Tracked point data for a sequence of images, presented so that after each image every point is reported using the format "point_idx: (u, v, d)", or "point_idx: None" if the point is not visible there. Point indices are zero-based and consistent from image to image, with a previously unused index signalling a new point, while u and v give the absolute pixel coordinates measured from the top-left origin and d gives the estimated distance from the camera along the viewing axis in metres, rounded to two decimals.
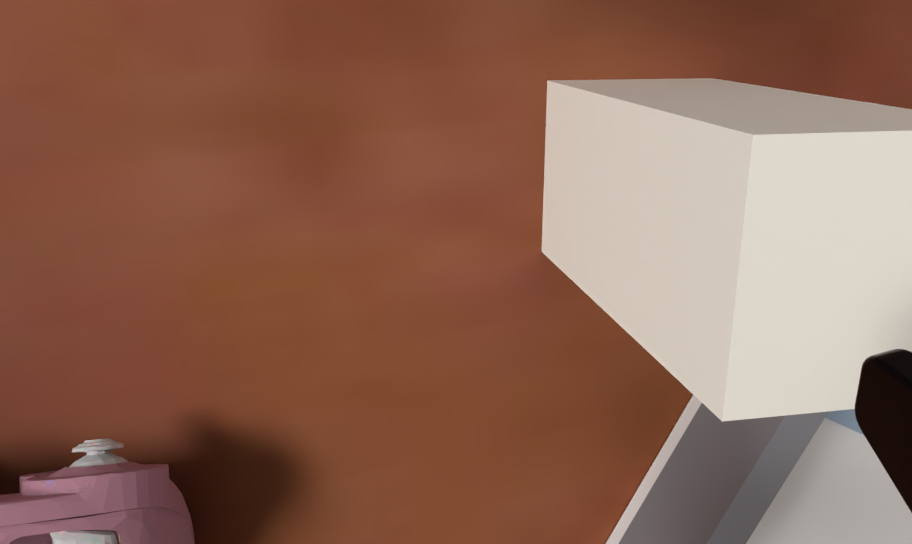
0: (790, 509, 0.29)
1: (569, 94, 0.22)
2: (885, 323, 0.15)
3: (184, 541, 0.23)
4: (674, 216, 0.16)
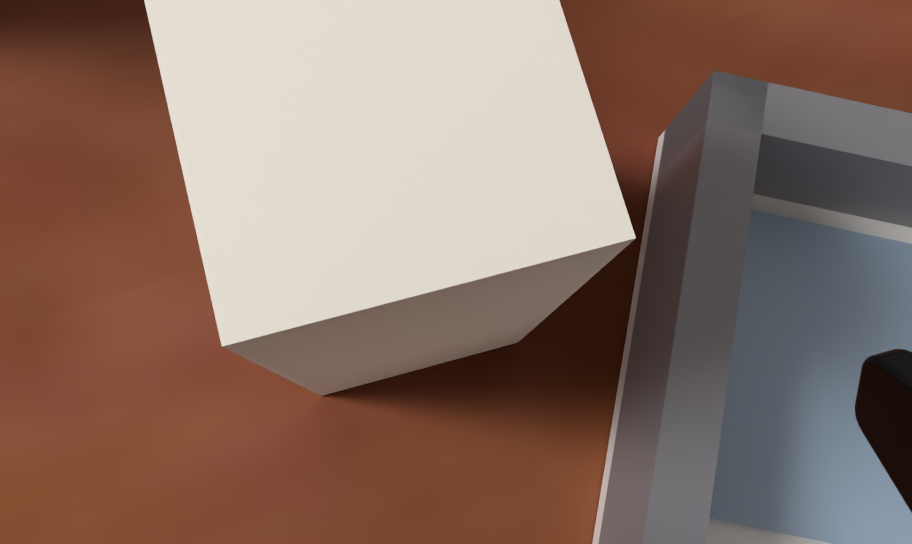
0: None
1: None
2: (432, 153, 0.10)
3: None
4: None
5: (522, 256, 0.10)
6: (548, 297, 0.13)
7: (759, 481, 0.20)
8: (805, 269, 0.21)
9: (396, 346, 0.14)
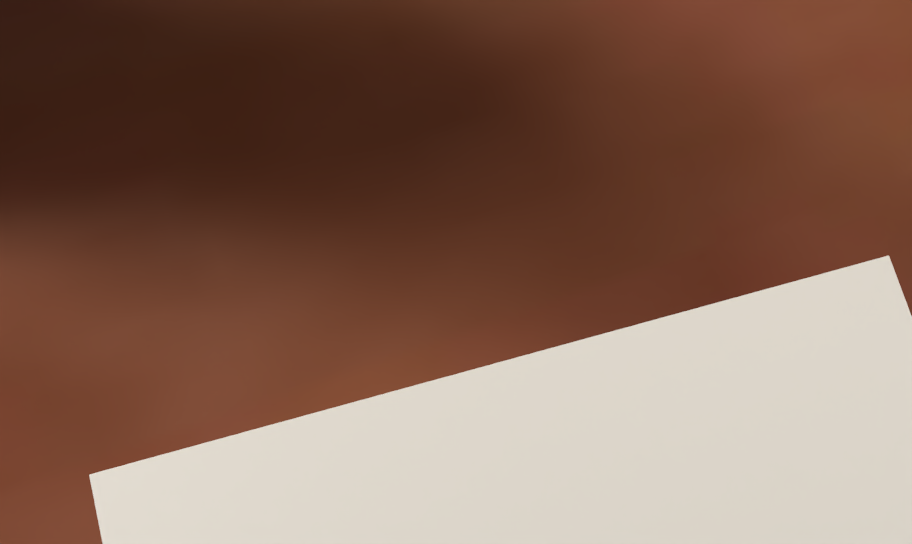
0: None
1: None
2: None
3: None
4: None
5: None
6: None
7: None
8: None
9: None
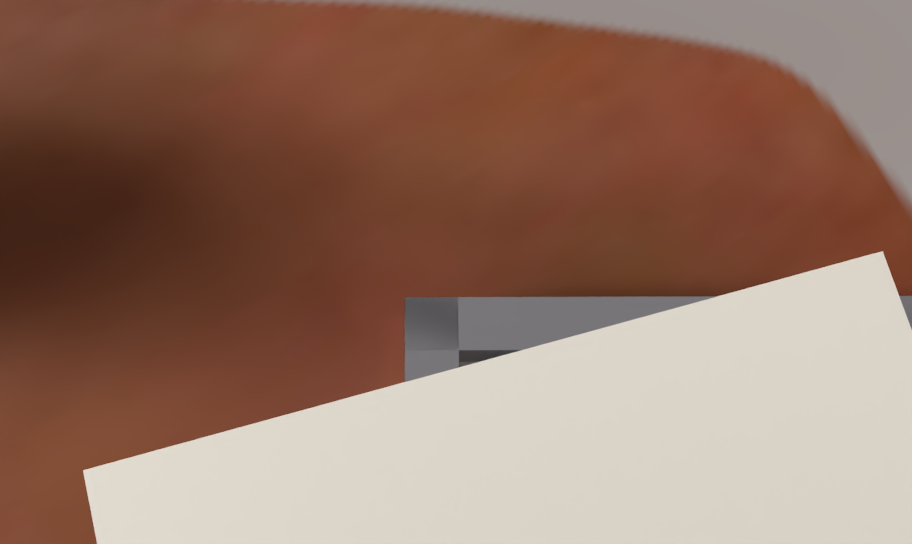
0: None
1: None
2: None
3: None
4: None
5: None
6: None
7: None
8: None
9: None
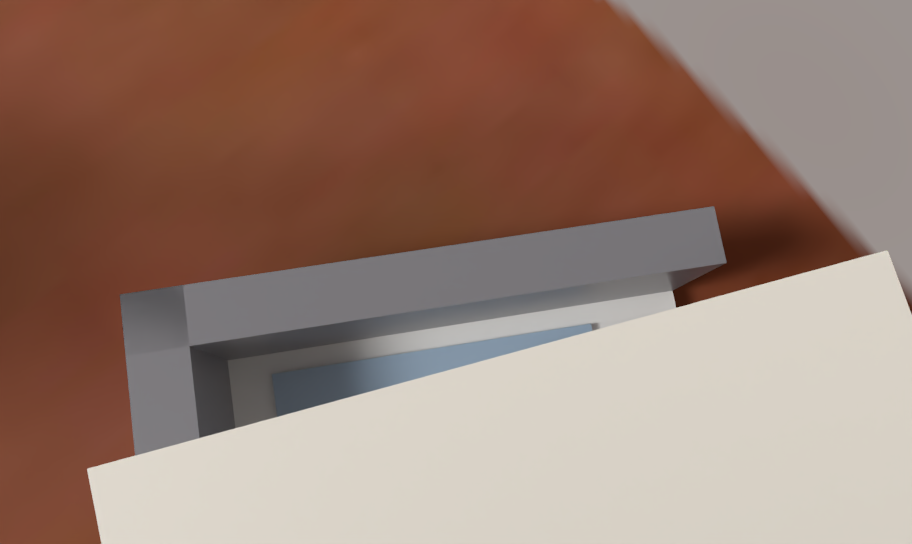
0: None
1: None
2: None
3: None
4: None
5: None
6: None
7: None
8: None
9: None
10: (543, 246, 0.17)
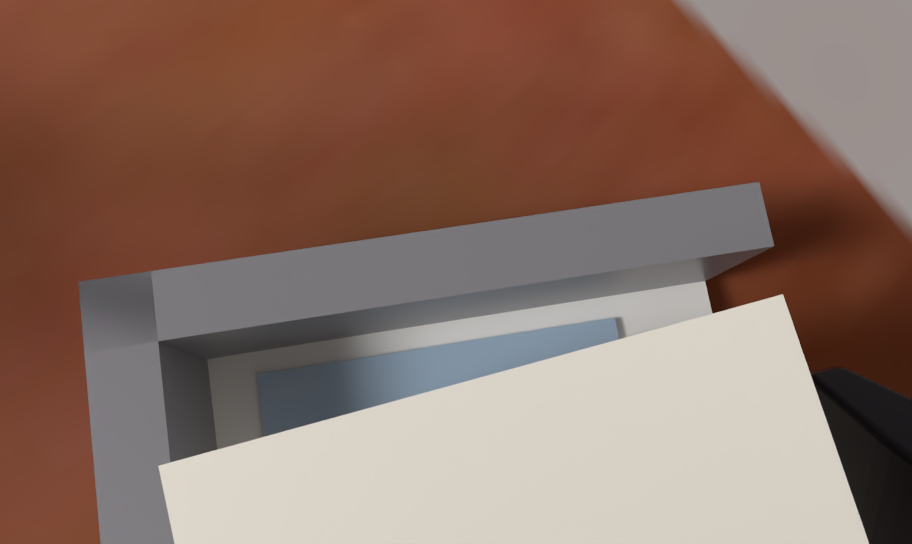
0: None
1: None
2: None
3: None
4: None
5: None
6: None
7: None
8: None
9: None
10: (565, 227, 0.15)
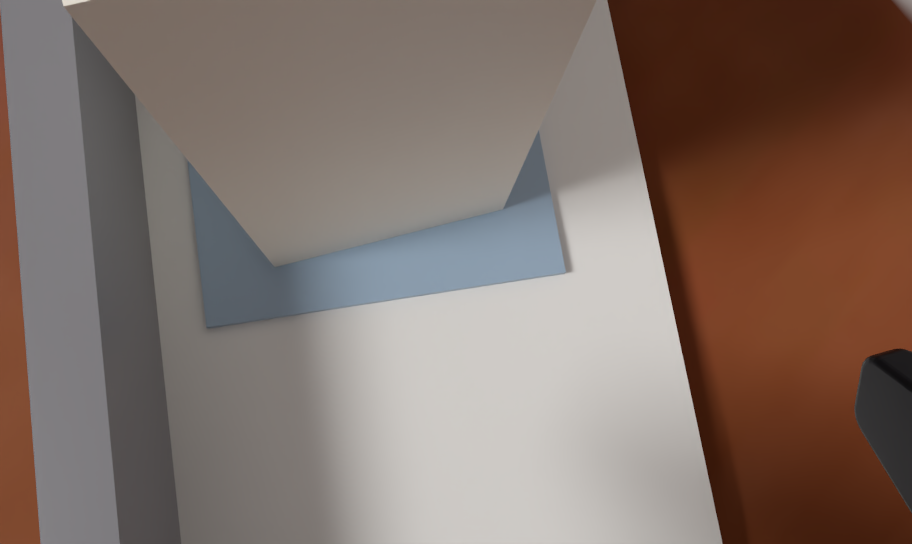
0: (382, 471, 0.17)
1: None
2: None
3: None
4: None
5: None
6: (533, 67, 0.11)
7: (262, 268, 0.17)
8: None
9: (345, 143, 0.11)
10: None
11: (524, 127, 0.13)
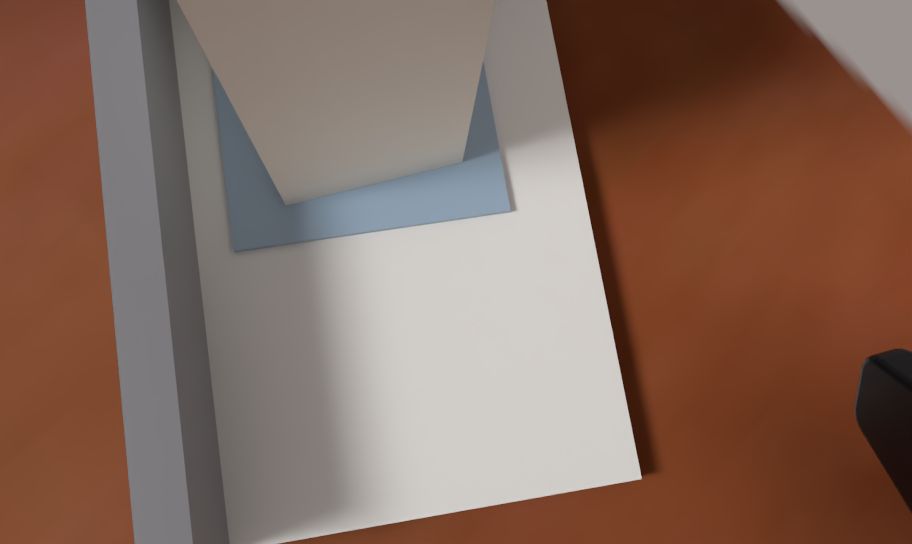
0: (367, 360, 0.22)
1: None
2: None
3: None
4: None
5: None
6: (463, 43, 0.16)
7: (276, 206, 0.23)
8: None
9: (337, 96, 0.17)
10: None
11: (465, 89, 0.18)
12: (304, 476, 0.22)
